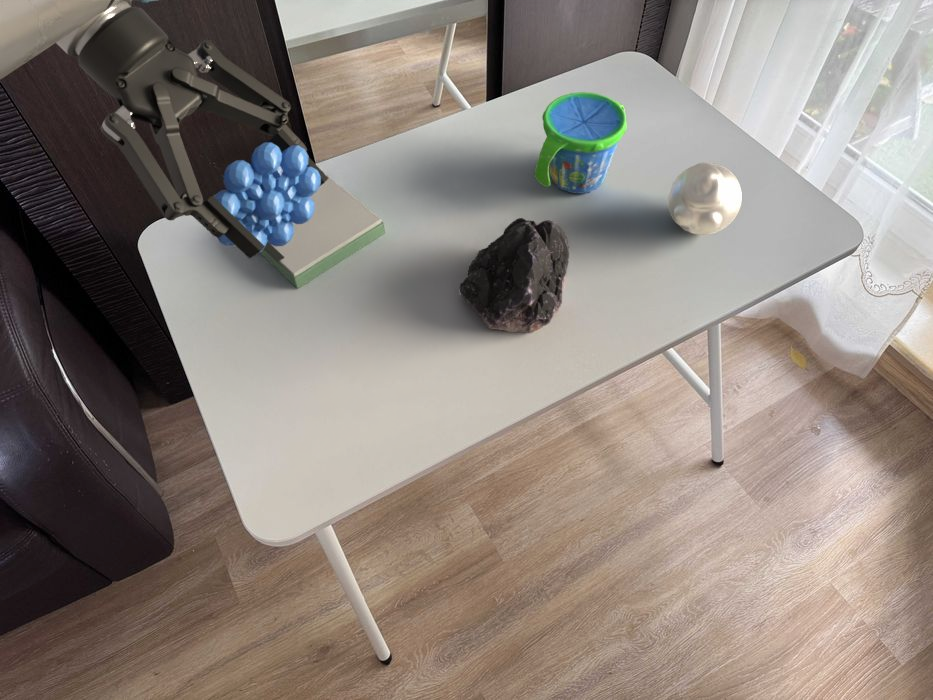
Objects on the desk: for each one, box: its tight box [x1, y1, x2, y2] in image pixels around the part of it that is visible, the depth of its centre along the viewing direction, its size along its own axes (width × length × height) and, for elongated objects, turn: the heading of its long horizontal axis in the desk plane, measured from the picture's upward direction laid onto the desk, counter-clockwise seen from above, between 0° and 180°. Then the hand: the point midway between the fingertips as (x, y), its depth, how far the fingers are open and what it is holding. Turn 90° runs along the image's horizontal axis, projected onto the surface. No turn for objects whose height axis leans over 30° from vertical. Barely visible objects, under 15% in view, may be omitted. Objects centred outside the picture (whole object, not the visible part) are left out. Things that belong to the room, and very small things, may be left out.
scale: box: [260, 174, 386, 289], centre depth 93 cm, size 14×13×3 cm
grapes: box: [212, 141, 321, 254], centre depth 71 cm, size 12×7×12 cm, turn 122°
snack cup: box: [534, 91, 628, 195], centre depth 95 cm, size 16×10×10 cm
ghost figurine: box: [667, 162, 743, 236], centre depth 89 cm, size 9×10×10 cm
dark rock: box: [459, 217, 570, 334], centre depth 84 cm, size 13×14×10 cm
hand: (290, 217), depth 71 cm, fingers closed on grapes, 10 cm apart
